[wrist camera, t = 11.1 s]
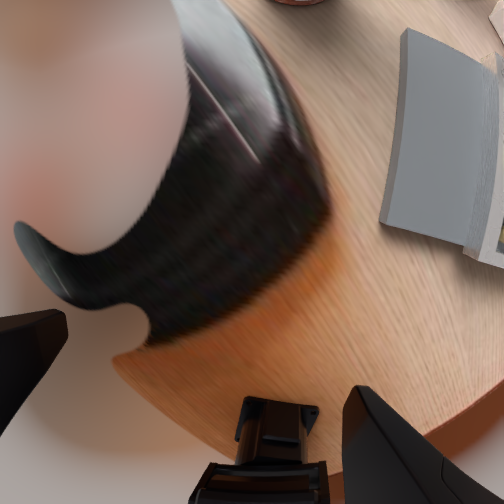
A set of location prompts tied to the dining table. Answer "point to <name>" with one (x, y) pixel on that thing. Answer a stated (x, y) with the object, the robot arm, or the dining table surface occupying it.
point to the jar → (498, 19)
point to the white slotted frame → (489, 169)
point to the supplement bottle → (299, 2)
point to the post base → (435, 141)
